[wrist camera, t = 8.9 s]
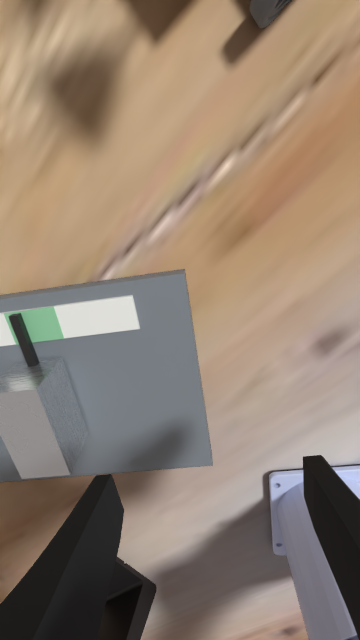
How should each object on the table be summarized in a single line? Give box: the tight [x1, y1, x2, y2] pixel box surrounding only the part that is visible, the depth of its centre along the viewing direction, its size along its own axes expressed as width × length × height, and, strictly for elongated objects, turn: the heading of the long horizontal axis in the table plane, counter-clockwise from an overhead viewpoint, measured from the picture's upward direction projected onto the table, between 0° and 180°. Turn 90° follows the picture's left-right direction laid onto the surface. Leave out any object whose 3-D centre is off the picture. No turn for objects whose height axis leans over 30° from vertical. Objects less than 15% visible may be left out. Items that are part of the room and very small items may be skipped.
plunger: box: [0, 313, 88, 479], centre depth 17 cm, size 9×3×3 cm, turn 9°
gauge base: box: [0, 269, 213, 482], centre depth 18 cm, size 14×18×4 cm
